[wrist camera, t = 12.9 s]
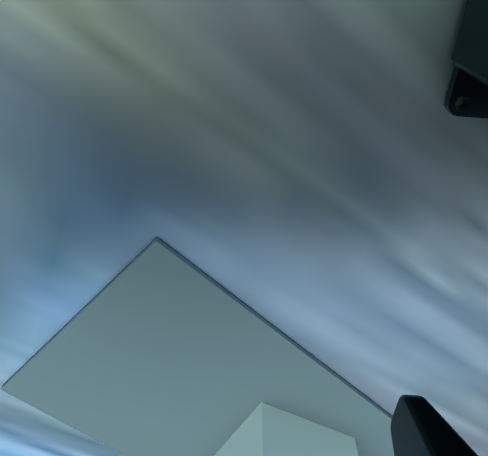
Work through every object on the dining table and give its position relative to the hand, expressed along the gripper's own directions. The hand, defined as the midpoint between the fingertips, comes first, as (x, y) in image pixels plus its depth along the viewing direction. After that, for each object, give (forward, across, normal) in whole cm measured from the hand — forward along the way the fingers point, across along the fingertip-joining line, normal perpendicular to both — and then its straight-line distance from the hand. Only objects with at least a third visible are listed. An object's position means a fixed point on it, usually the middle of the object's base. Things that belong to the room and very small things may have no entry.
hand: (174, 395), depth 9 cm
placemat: (+12, -2, +16) cm, 20 cm away
